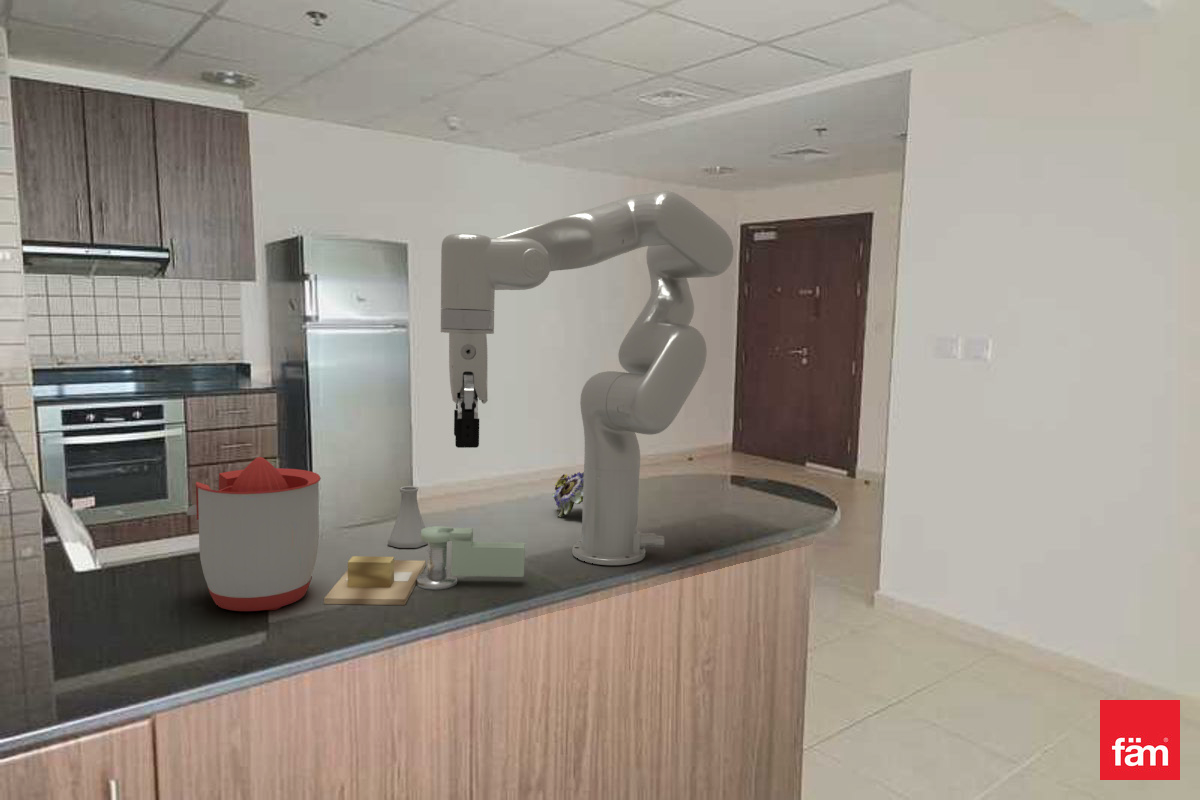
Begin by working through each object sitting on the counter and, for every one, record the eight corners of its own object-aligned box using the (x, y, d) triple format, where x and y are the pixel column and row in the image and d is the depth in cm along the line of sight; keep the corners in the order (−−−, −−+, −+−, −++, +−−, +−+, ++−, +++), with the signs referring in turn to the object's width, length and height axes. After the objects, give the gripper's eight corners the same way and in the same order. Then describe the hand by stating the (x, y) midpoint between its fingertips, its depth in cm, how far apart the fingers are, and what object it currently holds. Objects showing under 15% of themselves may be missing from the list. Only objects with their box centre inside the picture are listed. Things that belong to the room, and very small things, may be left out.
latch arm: (418, 577, 111) (418, 534, 111) (423, 567, 116) (424, 525, 115) (523, 579, 112) (524, 536, 112) (524, 568, 117) (525, 527, 116)
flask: (418, 551, 129) (419, 493, 128) (379, 547, 130) (380, 490, 129) (436, 539, 136) (437, 485, 135) (399, 536, 138) (399, 482, 136)
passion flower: (561, 543, 155) (538, 491, 159) (604, 526, 161) (580, 476, 165) (582, 524, 146) (557, 469, 150) (627, 507, 152) (601, 455, 156)
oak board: (425, 565, 122) (426, 538, 121) (405, 604, 105) (405, 573, 104) (356, 564, 121) (356, 537, 121) (323, 604, 104) (323, 572, 104)
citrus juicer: (223, 576, 113) (221, 444, 111) (337, 581, 113) (337, 449, 111) (159, 616, 98) (155, 464, 96) (292, 623, 97) (291, 470, 95)
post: (459, 576, 117) (460, 534, 116) (454, 590, 111) (455, 546, 110) (420, 575, 117) (420, 534, 116) (413, 589, 111) (413, 545, 110)
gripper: (498, 324, 100) (496, 451, 102) (490, 323, 117) (488, 432, 119) (440, 322, 99) (439, 452, 101) (440, 321, 116) (439, 432, 117)
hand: (465, 441), depth 110 cm, fingers open, 9 cm apart
